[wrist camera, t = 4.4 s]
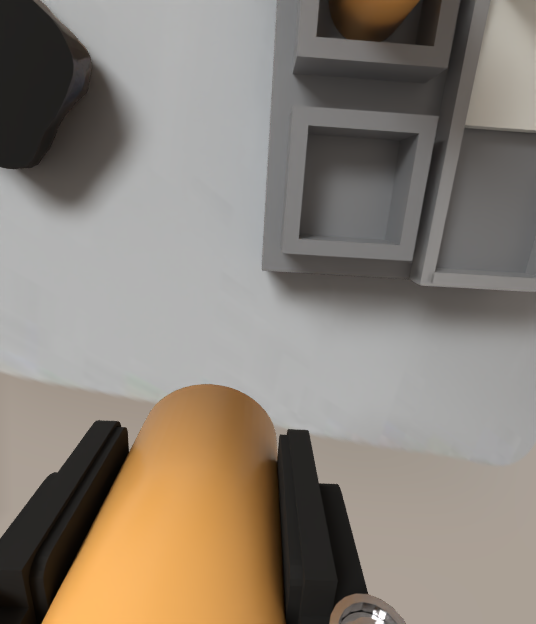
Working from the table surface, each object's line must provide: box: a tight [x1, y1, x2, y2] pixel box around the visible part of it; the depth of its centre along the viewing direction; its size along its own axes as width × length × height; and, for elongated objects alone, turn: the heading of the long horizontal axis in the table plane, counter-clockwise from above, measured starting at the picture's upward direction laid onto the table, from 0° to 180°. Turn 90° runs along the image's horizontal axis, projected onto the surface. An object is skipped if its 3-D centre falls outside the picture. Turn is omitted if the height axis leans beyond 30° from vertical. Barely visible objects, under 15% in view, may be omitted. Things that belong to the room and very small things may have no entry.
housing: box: [262, 0, 536, 292], centre depth 17 cm, size 18×17×12 cm
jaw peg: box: [41, 384, 286, 624], centre depth 7 cm, size 4×4×9 cm
